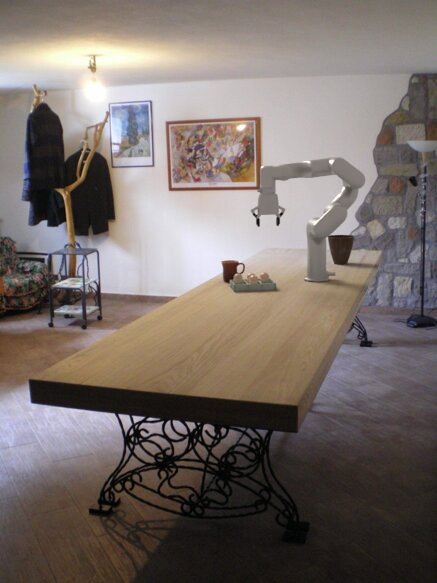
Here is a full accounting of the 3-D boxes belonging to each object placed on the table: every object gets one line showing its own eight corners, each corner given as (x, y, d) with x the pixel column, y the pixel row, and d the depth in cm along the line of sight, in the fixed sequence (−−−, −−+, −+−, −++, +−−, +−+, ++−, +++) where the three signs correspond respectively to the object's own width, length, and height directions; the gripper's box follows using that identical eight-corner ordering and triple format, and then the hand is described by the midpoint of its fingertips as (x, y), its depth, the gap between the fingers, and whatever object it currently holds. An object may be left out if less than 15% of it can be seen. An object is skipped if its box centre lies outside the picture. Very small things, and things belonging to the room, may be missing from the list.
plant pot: (322, 262, 387) (322, 235, 383) (343, 260, 393) (343, 234, 390) (337, 266, 373) (337, 238, 370) (358, 264, 380) (359, 236, 376)
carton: (270, 284, 327) (270, 270, 326) (276, 289, 314) (275, 275, 312) (229, 286, 325) (229, 272, 323) (234, 291, 311) (233, 277, 310)
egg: (259, 288, 314) (259, 275, 313) (250, 289, 313) (250, 276, 312) (257, 286, 318) (257, 274, 317) (248, 287, 318) (248, 274, 316)
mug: (220, 283, 333) (220, 263, 331) (222, 279, 342) (222, 260, 340) (244, 283, 332) (244, 262, 330) (245, 279, 340) (245, 260, 338)
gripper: (251, 192, 319) (252, 227, 323) (286, 191, 321) (286, 226, 325) (249, 191, 326) (249, 226, 330) (283, 190, 328) (283, 224, 332)
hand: (268, 226), depth 327 cm, fingers open, 9 cm apart
